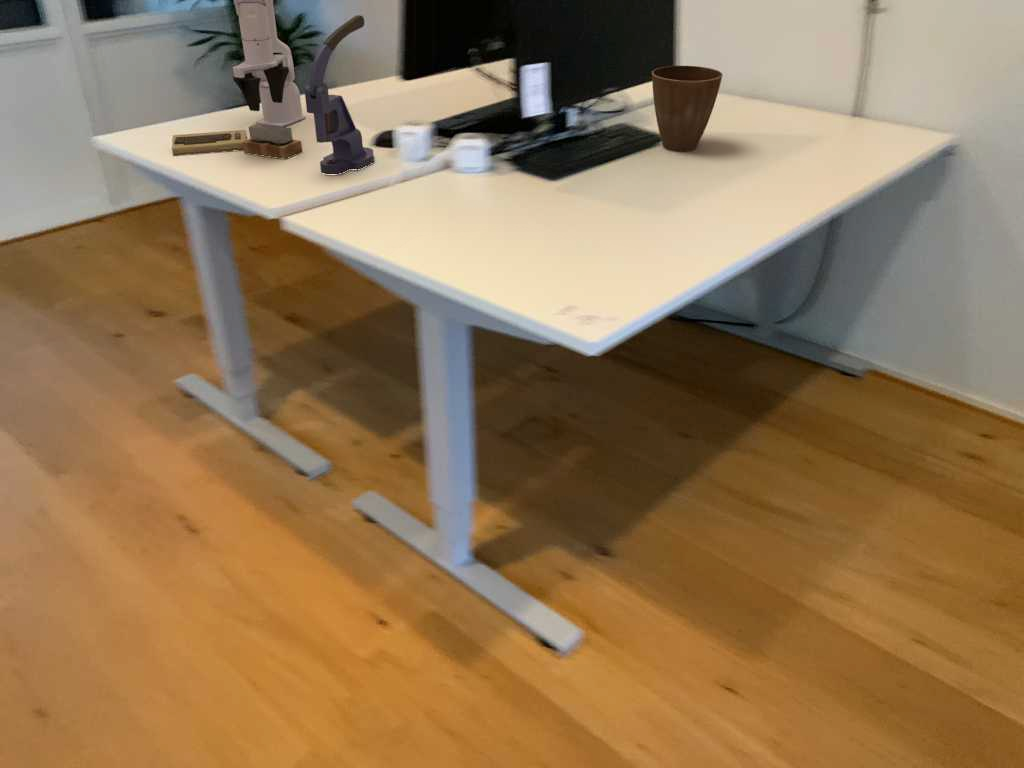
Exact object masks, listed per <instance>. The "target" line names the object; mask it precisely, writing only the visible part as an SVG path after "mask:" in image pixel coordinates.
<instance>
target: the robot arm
mask: <svg viewBox="0 0 1024 768" xmlns="http://www.w3.org/2000/svg"><path fill="white" fill-rule="evenodd" d="M233 3H234V5H235V7H234V8H235V12H236V15H237V16H238V23H239V27H240V29H239V30H240V34H241V42H242V47H243V48H242V49H243V55H244V61H243V62H241V63H240V64H238V65H236V66H233V67H232V72H233V75H232V78H233V79H232V80H233V82H234V83H235V85H237V87H238V88H239V90H240V91H241V93H242V95H243V96H244V100H245V101H246V104H247V106H248V109H249V110H250V111H253V112H260V109H261V110H262V115H263V118H262V119H259V120H256V122H255V124H257V123H258V124H266V125H273V126H280V127H286V126H289V125H291V124H294V123H296V122H298V121H301V120H304V119H306V115H303V108H302V102H301V100H302V99H301V94H300V89H299V88H298V86H297V84H296V83H295V82H294V80H295V70H294V69H295V68H294V67H295V66H294V61H293V56H292V51H291V50H292V49H290V47H289V46H288V45H287V44H286V43H285V42H283V41H282V40H280V39H279V37H278V34H277V33H278V32H277V24H276V17H275V16H276V15H275V9H274V0H233ZM275 53H276V54H275Z"/></svg>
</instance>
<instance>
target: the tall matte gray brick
mask: <svg viewBox="0 0 1024 768" xmlns="http://www.w3.org/2000/svg"><path fill="white" fill-rule="evenodd" d="M248 133H249V137H250V138H249V139H251V138H252V139H254V142H256V143H265V142H267V141H272V142H273V145H276V146H283V145H286V144H288V143H289V141H291V140H294V139H293V133H292V128H291V127H286V126H284V127H280V126H273V125H266V124H258V123H255V124H252V125H250V126H248Z"/></svg>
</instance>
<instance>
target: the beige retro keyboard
mask: <svg viewBox="0 0 1024 768" xmlns="http://www.w3.org/2000/svg"><path fill="white" fill-rule="evenodd" d="M247 136H248V135H247V132H246V129H237V130H236V129H235V130H226V131H213V132H210V131H209V132H199V133H185V134H184V133H183V134H174V135H172V140H171V141H172V142H171V143H172V145H171V149H172V154H173V156H174V157H175V155H176V156H188V155H187V154H189V155H200V154H199V153H202V154H211V153H210V152H215V153H223V152H222V151H227V152H234V151H233V150H241V151H244V149H243V141H245V140H248V137H247Z"/></svg>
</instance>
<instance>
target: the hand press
mask: <svg viewBox="0 0 1024 768" xmlns="http://www.w3.org/2000/svg"><path fill="white" fill-rule="evenodd" d="M364 26H365V19H364V16H363V15H359V14H357V15H355V16H353V17H352V18H351V19H349V20H347V21H346V22H345V23H343V24H342V25H341V26H339V27H338V28H337V29H335V30H334V31H333V32H332V33H331V34H329V36H327V38H326V39H325V40H324V41H323V42H322V45H321V46H320V48H319V49H318V52H317V53H316V55H315V57H314V59H313V62H312V65H311V71H310V76H309V85H308V84H307V85H306V86H305V88H304V97H305V108H306V113H308V114H313V120H314V129H315V138H316V142H317V143H320V144H321V143H331V145H332V153H329V154H328V155H326V156H323V159H322V160H320V162H319V164H320V165H319V168H320V173H321V172H322V173H325V174H339V173H343V172H345V171H347V170H349V169H357V170H358V169H361V168H363V167H365V166H368V165H369V166H371V165H372V164H371V163H373V162H374V163H375V156H374V149H373V148H371V147H365V146H363V135H362V133H361V130H360V129H359V128H356V125H355V122H354V120H353V119H352V118H353V117H352V115H351V114H350V112H349V111H350V110H349V109H348V106H347V104H346V102H345V100H344V98H343V96H342V95H338V94H329V87H328V84H326V83H325V82H324V79H325V74H326V71H327V66H328V62H329V61H330V57H331V55H332V54H333V52H334V51H335V50H336V48H337V46H338V45H339V44H340V42H342V41H343V39H345V38H346V37H347V36H349V34H352V33H353V32H355V31H358V30H359V29H362V28H363V27H364ZM374 163H373V164H374ZM370 164H371V165H370ZM369 166H368V167H369ZM349 171H350V170H349ZM347 172H348V171H347ZM322 173H321V174H322ZM345 173H346V172H345ZM343 174H344V173H343Z"/></svg>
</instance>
